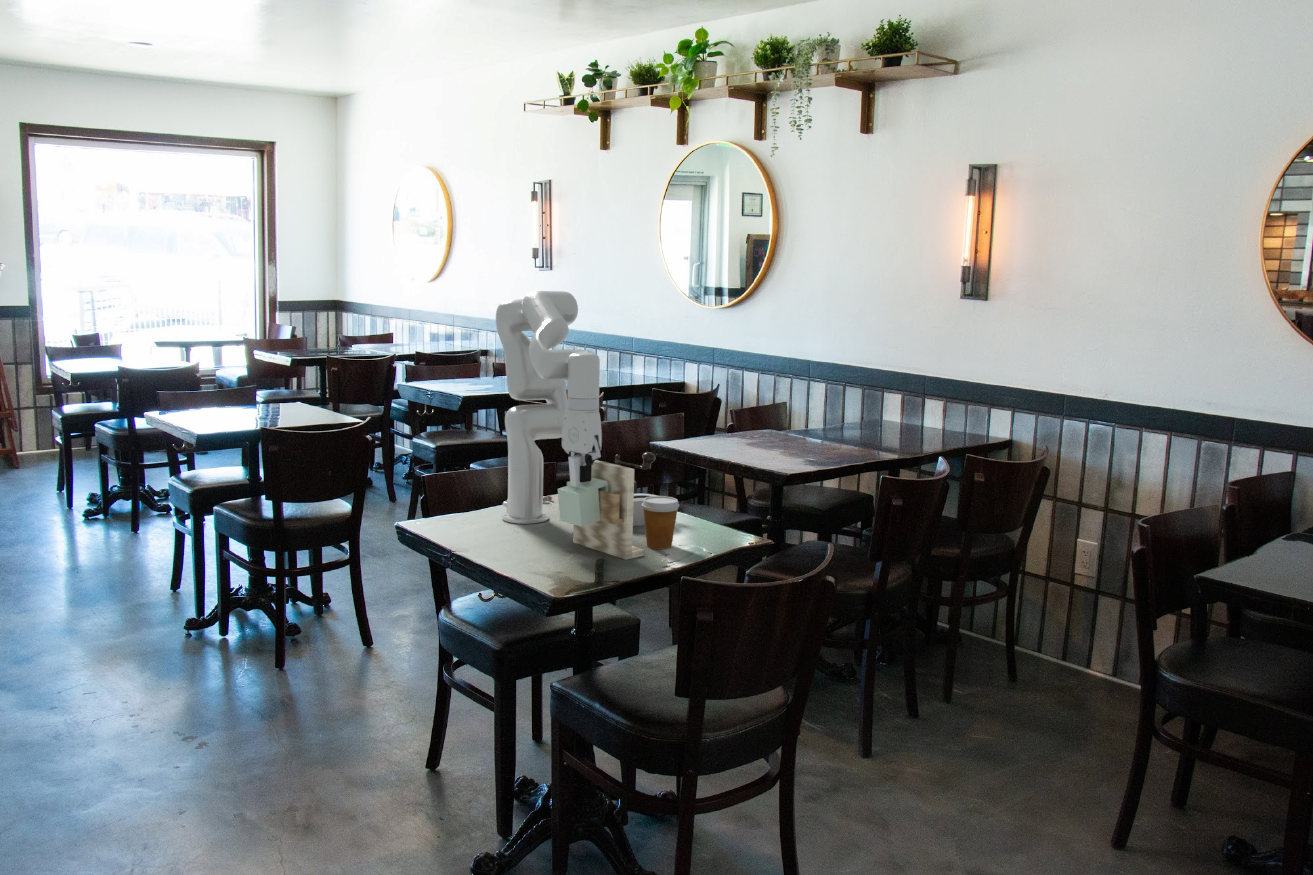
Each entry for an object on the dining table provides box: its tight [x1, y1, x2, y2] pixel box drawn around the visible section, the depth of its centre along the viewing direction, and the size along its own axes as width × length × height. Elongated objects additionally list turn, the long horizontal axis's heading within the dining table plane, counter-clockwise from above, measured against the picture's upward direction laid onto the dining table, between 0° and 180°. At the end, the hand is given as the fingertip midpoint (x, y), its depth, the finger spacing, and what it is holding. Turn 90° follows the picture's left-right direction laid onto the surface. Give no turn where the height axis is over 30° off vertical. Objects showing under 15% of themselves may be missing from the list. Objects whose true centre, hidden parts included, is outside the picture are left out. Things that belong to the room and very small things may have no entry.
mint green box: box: [557, 454, 609, 527], centre depth 250 cm, size 8×9×16 cm
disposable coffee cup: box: [642, 495, 680, 550], centre depth 261 cm, size 10×10×12 cm
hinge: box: [633, 493, 658, 527], centre depth 283 cm, size 17×5×10 cm, turn 100°
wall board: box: [572, 459, 645, 561], centre depth 255 cm, size 20×9×22 cm, turn 44°
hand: (581, 480), depth 249 cm, fingers closed on mint green box
